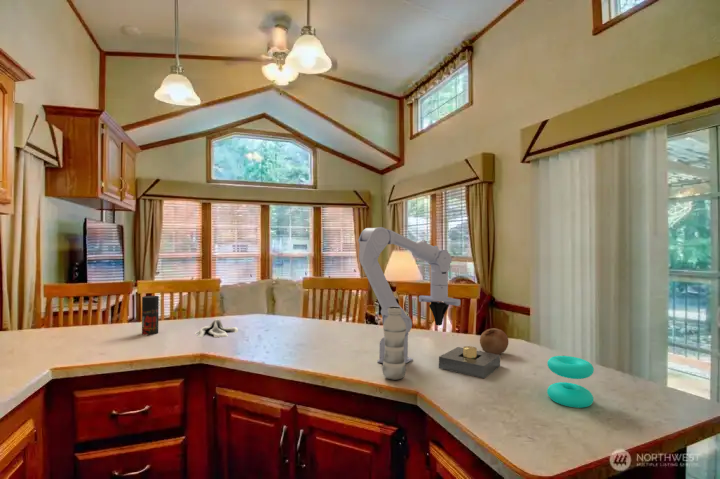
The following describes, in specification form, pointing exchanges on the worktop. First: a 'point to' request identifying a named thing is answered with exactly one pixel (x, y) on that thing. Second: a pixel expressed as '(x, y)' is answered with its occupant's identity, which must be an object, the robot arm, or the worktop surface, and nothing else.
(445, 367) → the block
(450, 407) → the worktop surface
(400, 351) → the plastic bottle
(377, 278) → the robot arm
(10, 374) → the worktop surface
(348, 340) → the worktop surface
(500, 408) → the worktop surface
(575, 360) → the donuts
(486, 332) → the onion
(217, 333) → the cloth
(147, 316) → the deodorant
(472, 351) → the bushing
